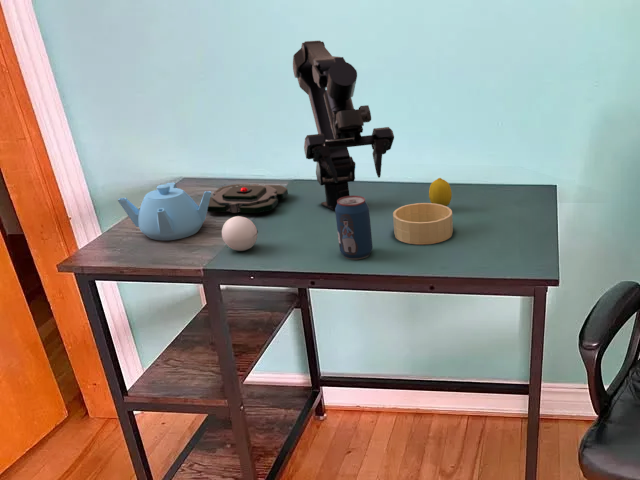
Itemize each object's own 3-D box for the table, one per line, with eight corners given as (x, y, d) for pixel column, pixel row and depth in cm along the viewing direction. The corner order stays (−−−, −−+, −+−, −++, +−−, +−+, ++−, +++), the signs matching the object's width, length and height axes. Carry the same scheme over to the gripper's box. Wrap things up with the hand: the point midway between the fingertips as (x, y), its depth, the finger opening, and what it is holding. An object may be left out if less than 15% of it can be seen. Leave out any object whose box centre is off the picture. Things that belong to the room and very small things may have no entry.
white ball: (255, 256, 152) (249, 223, 149) (220, 256, 152) (213, 223, 149) (267, 238, 161) (262, 207, 157) (235, 238, 161) (228, 207, 157)
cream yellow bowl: (383, 233, 163) (381, 212, 161) (428, 219, 171) (427, 199, 168) (418, 249, 155) (416, 227, 152) (464, 234, 162) (464, 213, 160)
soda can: (369, 246, 157) (365, 193, 150) (375, 258, 151) (370, 203, 145) (338, 250, 155) (331, 196, 149) (343, 262, 149) (336, 207, 143)
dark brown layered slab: (226, 193, 189) (223, 175, 187) (292, 194, 188) (290, 177, 185) (197, 216, 174) (193, 198, 172) (269, 218, 172) (266, 199, 170)
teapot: (223, 227, 167) (214, 182, 162) (168, 248, 156) (156, 200, 151) (180, 216, 174) (170, 172, 169) (125, 235, 163) (112, 189, 158)
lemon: (453, 206, 179) (452, 174, 175) (450, 214, 174) (449, 181, 170) (431, 205, 179) (430, 174, 175) (427, 213, 175) (426, 181, 170)
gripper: (299, 95, 144) (317, 166, 142) (389, 88, 150) (407, 156, 148) (297, 124, 154) (313, 191, 152) (381, 116, 160) (398, 180, 158)
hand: (358, 179), depth 152 cm, fingers open, 9 cm apart
